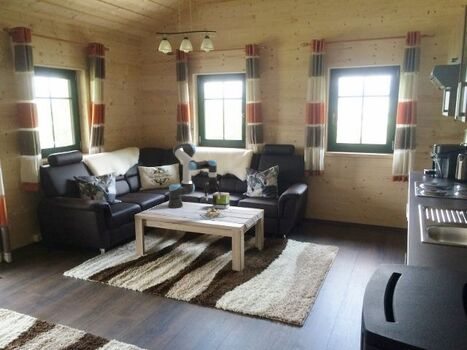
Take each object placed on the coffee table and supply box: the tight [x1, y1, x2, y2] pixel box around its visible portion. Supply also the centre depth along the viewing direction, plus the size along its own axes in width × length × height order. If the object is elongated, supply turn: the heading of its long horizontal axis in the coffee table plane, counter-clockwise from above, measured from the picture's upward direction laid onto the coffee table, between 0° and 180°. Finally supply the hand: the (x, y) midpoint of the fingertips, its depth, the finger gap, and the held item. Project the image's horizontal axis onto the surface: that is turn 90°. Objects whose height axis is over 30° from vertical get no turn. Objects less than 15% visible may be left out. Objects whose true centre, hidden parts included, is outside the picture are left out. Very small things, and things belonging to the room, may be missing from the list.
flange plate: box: [206, 208, 220, 218], centre depth 351 cm, size 17×8×4 cm, turn 24°
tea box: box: [212, 191, 230, 210], centre depth 378 cm, size 15×10×15 cm
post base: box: [200, 207, 227, 220], centre depth 349 cm, size 16×20×8 cm
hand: (212, 199), depth 346 cm, fingers open, 11 cm apart
